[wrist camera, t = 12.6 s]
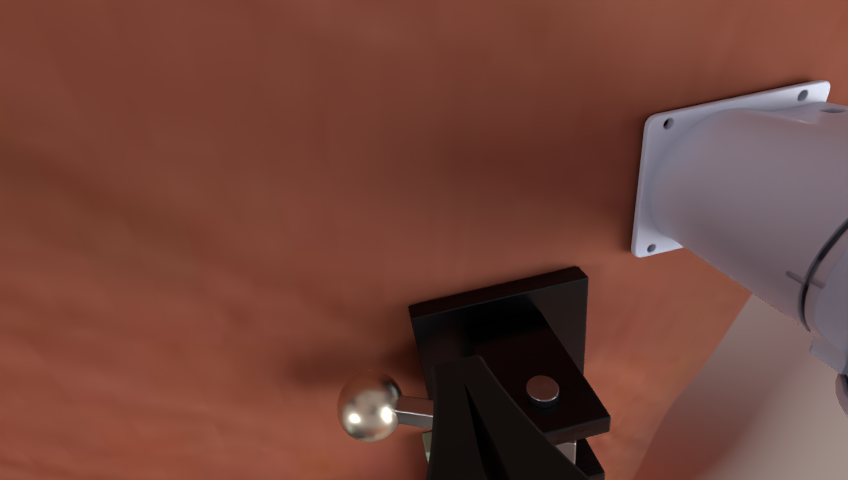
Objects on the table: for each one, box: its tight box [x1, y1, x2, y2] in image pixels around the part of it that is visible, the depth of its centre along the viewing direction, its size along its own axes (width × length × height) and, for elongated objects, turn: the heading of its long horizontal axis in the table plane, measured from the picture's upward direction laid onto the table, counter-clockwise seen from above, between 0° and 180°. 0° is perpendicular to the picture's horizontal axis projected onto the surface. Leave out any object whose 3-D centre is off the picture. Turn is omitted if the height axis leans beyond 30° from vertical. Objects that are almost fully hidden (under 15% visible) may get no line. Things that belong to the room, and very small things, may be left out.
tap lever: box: [337, 371, 576, 464], centre depth 21 cm, size 12×4×4 cm, turn 99°
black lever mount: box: [408, 267, 611, 480], centre depth 21 cm, size 10×8×8 cm
